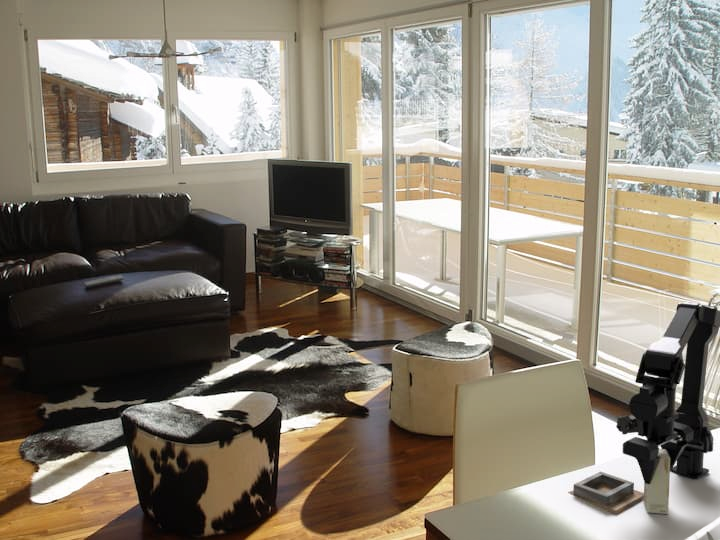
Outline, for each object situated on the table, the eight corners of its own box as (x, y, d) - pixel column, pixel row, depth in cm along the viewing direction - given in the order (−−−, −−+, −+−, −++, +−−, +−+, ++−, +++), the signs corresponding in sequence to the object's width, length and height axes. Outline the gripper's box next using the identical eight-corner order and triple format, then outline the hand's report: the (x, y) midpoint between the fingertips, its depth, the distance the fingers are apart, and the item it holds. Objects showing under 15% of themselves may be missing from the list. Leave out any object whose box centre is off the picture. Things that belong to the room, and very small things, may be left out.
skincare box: (668, 515, 171) (671, 459, 169) (646, 513, 172) (649, 458, 170) (663, 501, 177) (666, 448, 175) (642, 500, 178) (645, 446, 176)
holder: (598, 480, 188) (598, 468, 188) (646, 497, 179) (646, 484, 179) (567, 495, 181) (567, 483, 180) (615, 514, 172) (616, 500, 171)
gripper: (648, 389, 183) (645, 456, 185) (601, 408, 171) (598, 479, 173) (696, 401, 175) (692, 470, 177) (650, 422, 163) (646, 496, 165)
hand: (656, 478), depth 173 cm, fingers closed on skincare box, 7 cm apart
